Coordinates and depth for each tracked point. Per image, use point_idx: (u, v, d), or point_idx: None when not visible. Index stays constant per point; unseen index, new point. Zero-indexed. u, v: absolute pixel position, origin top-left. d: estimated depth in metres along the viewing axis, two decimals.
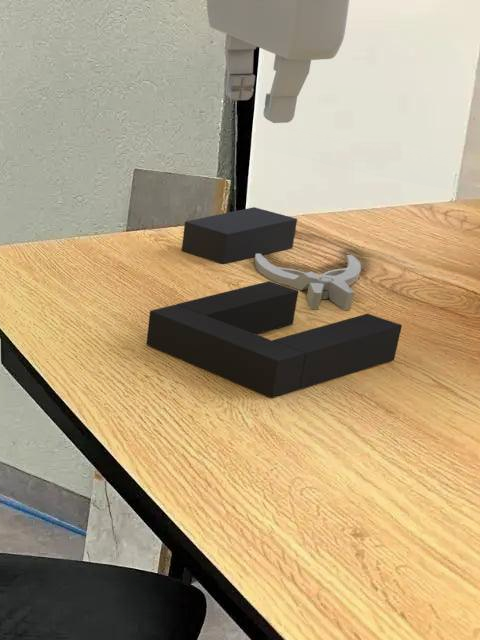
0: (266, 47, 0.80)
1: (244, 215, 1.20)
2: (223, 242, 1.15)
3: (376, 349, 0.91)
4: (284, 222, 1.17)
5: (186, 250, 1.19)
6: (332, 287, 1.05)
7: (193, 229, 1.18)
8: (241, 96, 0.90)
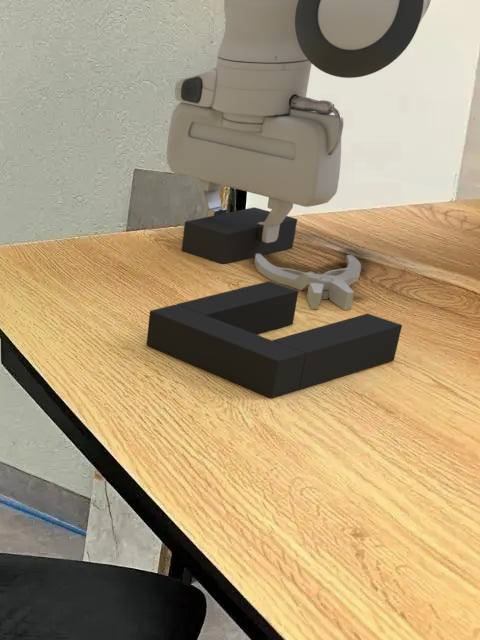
0: (272, 195, 1.12)
1: (244, 215, 1.20)
2: (223, 243, 1.15)
3: (376, 349, 0.91)
4: (284, 222, 1.17)
5: (186, 250, 1.19)
6: (332, 287, 1.05)
7: (193, 229, 1.18)
8: None
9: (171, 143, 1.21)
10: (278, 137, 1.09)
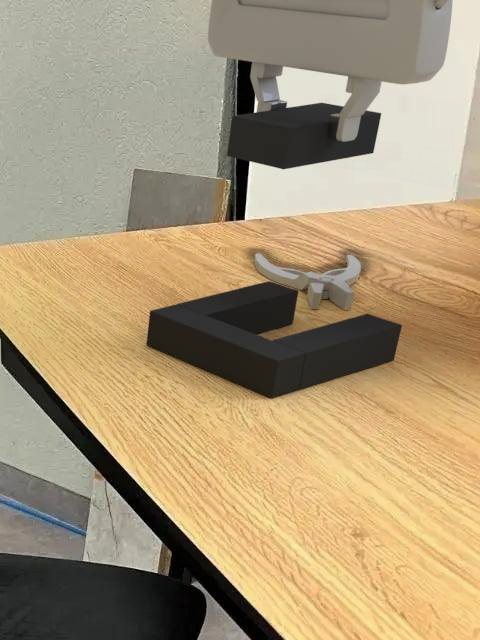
0: (353, 73, 0.83)
1: (310, 110, 0.91)
2: (284, 140, 0.86)
3: (376, 349, 0.91)
4: (364, 117, 0.89)
5: (233, 155, 0.91)
6: (332, 287, 1.05)
7: (243, 125, 0.89)
8: None
9: (214, 15, 0.92)
10: None
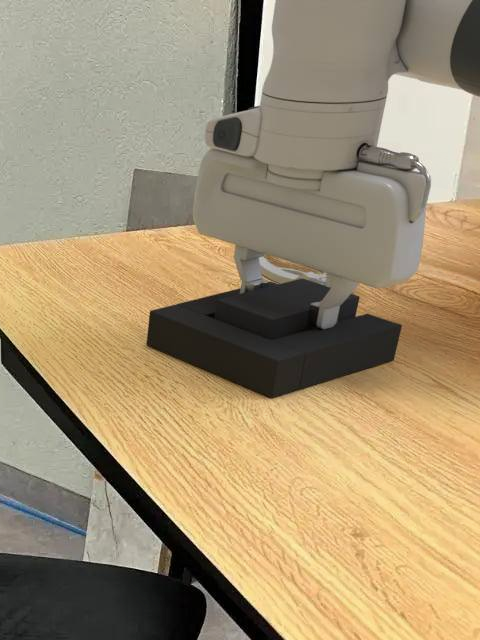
0: (331, 272, 0.87)
1: (291, 290, 0.94)
2: (267, 330, 0.89)
3: (376, 349, 0.91)
4: None
5: None
6: None
7: (227, 310, 0.92)
8: None
9: (199, 198, 0.95)
10: (342, 199, 0.84)
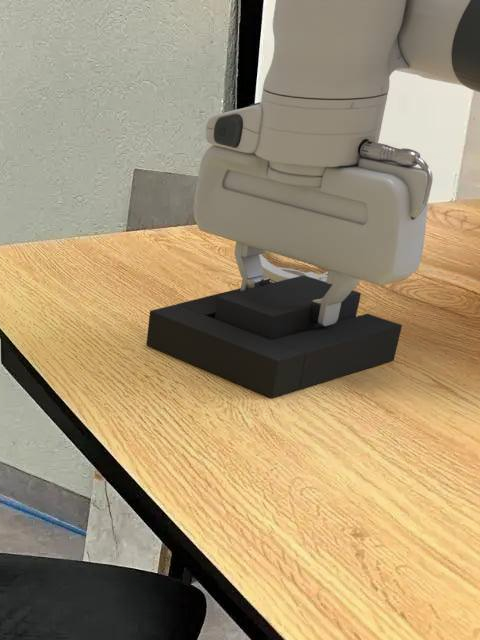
0: (333, 268, 0.86)
1: (292, 287, 0.94)
2: (268, 326, 0.89)
3: (376, 349, 0.91)
4: None
5: None
6: None
7: (228, 307, 0.92)
8: None
9: (200, 195, 0.95)
10: (343, 195, 0.84)
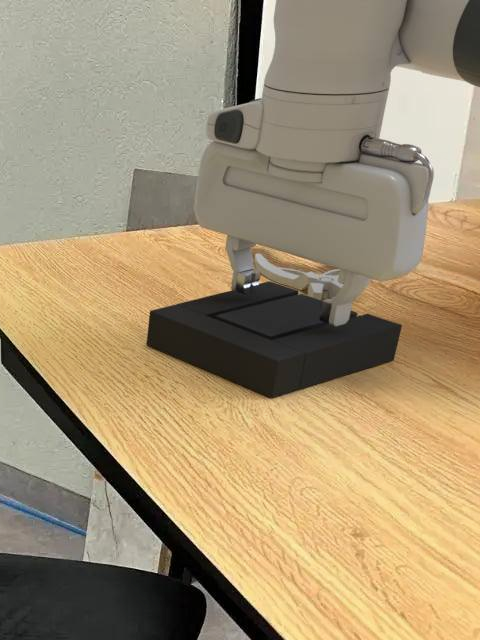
0: (334, 264, 0.86)
1: (290, 306, 0.95)
2: None
3: (376, 349, 0.91)
4: None
5: None
6: (332, 287, 1.05)
7: None
8: (250, 290, 0.96)
9: (200, 192, 0.95)
10: (344, 191, 0.84)
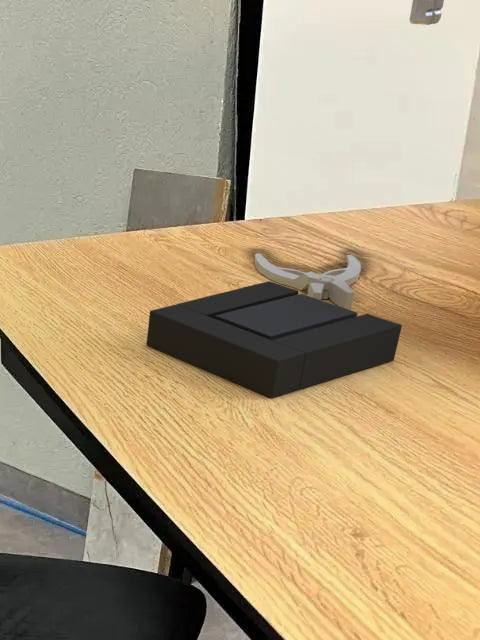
0: None
1: (290, 306, 0.95)
2: None
3: (376, 349, 0.91)
4: (341, 317, 0.93)
5: None
6: (332, 287, 1.05)
7: None
8: (432, 20, 0.88)
9: None
10: None
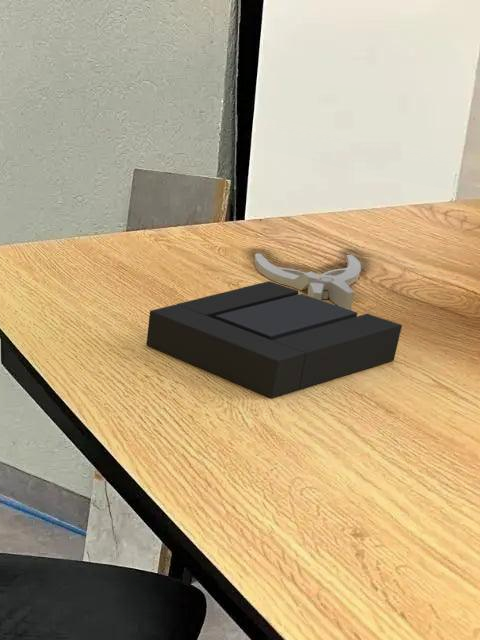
0: None
1: (290, 306, 0.95)
2: None
3: (376, 349, 0.91)
4: (341, 317, 0.93)
5: None
6: (332, 287, 1.05)
7: None
8: None
9: None
10: None
